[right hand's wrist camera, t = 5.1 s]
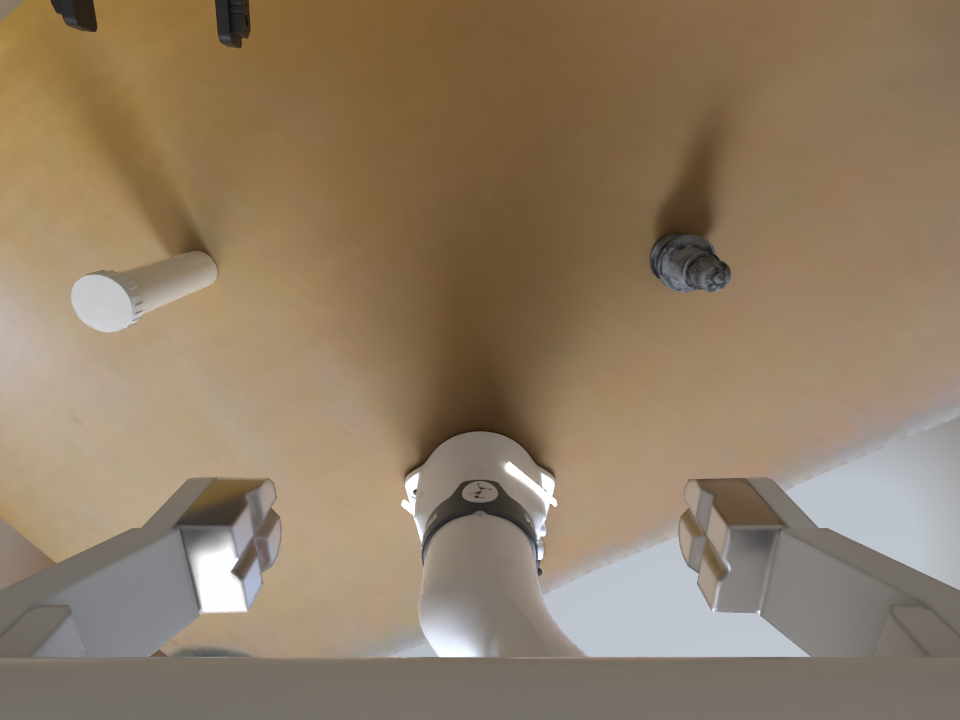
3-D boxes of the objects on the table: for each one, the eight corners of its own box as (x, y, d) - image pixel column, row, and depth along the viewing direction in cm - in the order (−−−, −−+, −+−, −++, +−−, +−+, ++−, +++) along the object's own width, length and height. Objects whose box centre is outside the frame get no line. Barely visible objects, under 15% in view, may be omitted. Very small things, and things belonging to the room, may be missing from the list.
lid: (72, 295, 43) (57, 299, 42) (108, 257, 42) (94, 260, 41) (120, 338, 45) (107, 344, 43) (157, 302, 44) (145, 307, 42)
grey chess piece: (635, 264, 56) (674, 287, 45) (673, 219, 55) (723, 231, 43) (675, 295, 58) (723, 326, 46) (713, 252, 56) (772, 273, 45)
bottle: (173, 266, 57) (69, 299, 42) (196, 242, 56) (99, 267, 42) (201, 294, 58) (110, 335, 43) (225, 271, 57) (140, 305, 43)
